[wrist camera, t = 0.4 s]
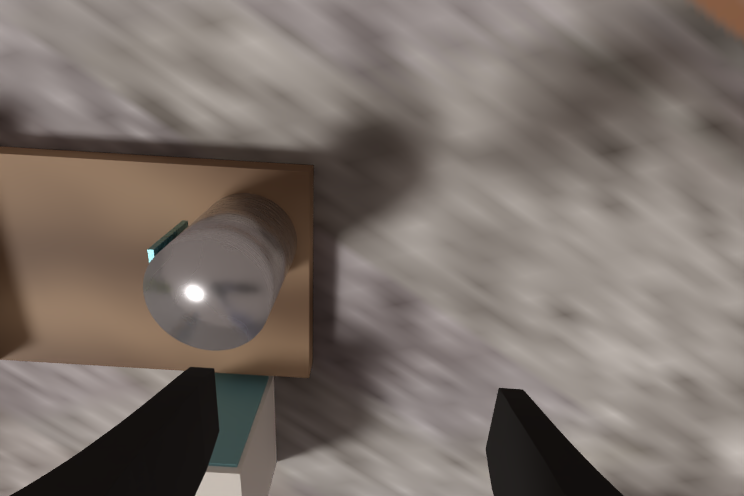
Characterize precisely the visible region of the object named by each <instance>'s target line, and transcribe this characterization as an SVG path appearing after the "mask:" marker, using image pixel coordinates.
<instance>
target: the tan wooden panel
mask: <svg viewBox="0 0 744 496" xmlns="http://www.w3.org/2000/svg"><path fill="white" fill-rule="evenodd" d="M313 175H314V165H301V164H285V163H268V162H251V161H234V160H218V159H201V158H184V157H168V156H151V155H134V154H117V153H101V152H84V151H67V150H50V149H34V148H17V147H0V360H16V361H32V362H49V363H66V364H83V365H99V366H116V367H133V368H149V369H166V370H183V371H186V370H187V369H188V368H189V367H202V368H214V370H215V372H216V373H233V374H250V375H266V376H283V377H300V378H309V376H310V372H311V367H312V363H313ZM236 193H251V194H256V195H260V196H263V197H265V198H267V199H269V200H271V201H273V202H274V203H276V204H277V205H278V206H280V207H281V208H282V209H283V210H284V211H285V212H286V214H287V215H288V216H289V218H290V219H291V221H292V223H293V225H294V228H295V231H296V235H297V249H296V254H295V257H294V259H293V261H292V264H291V266H290V268H289V271H288V273H287V275H286V277H285V280H284V282H283V284H282V286H281V289H280V291H279V293H278V296H277V298H276V300H275V302H274V305H273V307H272V309H271V312H270V314H269V316H268V318H267V321H266V323H265V325H264V326H263V328H262V330H261V331H260V332H259V333H258V334H257V335H256V336H255V337H254V338H253V339H252V340H250V341H249V342H247V343H246V344H244V345H242V346H239V347H236V348H233V349H229V350H221V351H211V350H203V349H198V348H195V347H192V346H189V345H186V344H184V343H182V342H180V341H178V340H177V339H175V338H173V337H172V336H171V335H169V334H168V333H167V332H165V331H164V330H163V329H162V328H161V327H160V326H159V325H158V323H157V322H156V321H155V320H154V318H153V317H152V315H151V313H150V312H149V310H148V308H147V305H146V302H145V299H144V294H143V279H144V275H145V272H146V269H147V267H148V265H149V258H148V251H147V249H148V248H150V247H151V246H152V245H153V244H154V243H156V242H157V241H158V240H159V239H160V238H162V237H163V236H164V235H165V234H167V233H168V232H169V231H170V230H171V229H173V228H174V227H175V226H176V225H177V224H179V223H180V222H181V221H182V220H185V221H188V226H189V225H190V224H192V223H193V222H194V221H195V220H196V219H197V218H198V217H200V216H201V215H202V214H203V213H204V212H205V211H206V210H207V209H209V208H210V207H211V206H212V205H213V204H214V203H216V202H217V201H218V200H220V199H221V198H223V197H226V196H228V195H232V194H236Z"/></svg>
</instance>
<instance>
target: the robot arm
mask: <svg viewBox="0 0 744 496" xmlns="http://www.w3.org/2000/svg"><path fill="white" fill-rule="evenodd" d="M219 431H220V430H219V418H218V406H217V394H216V382H215V370H214V368H202V367H189V368H188V369H187V370H186V371H184V372H183V373H182V374H181V375H179V376H178V377H177V378H176V379H174V380H173V381H172V382H171V383H169V384H168V385H167V386H166V387H165V388H163V389H162V390H161V391H160V392H158V393H157V394H156V395H155V396H153V397H152V398H151V399H150V400H149V401H147V402H146V403H145V404H144V405H142V406H141V407H140V408H139V409H137V410H136V411H135V412H133V413H132V414H131V415H130V416H128V417H127V418H126V419H125V420H123V421H122V422H121V423H119V424H118V425H117V426H115V427H114V428H113V429H111V430H110V431H108V432H107V433H106V434H104V435H103V436H102V437H100V438H99V439H97V440H96V441H95V442H93V443H92V444H91V445H89V446H88V447H86V448H85V449H84V450H82V451H81V452H79V453H78V454H76V455H75V456H73V457H72V458H70V459H69V460H67V461H66V462H64V463H63V464H61V465H60V466H58V467H57V468H55V469H53V470H52V471H50V472H49V473H47V474H45V475H44V476H42V477H41V478H39V479H37V480H36V481H34V482H33V483H31V484H29V485H28V486H26V487H24V488H23V489H21V490H19V491H17V492H15V493H14V494H12V495H10V496H195V495H196V492H197V490H198V488H199V486H200V484H201V482H202V479H203V477H204V475H205V473H206V470H207V468H208V465H209V462H210V459H211V456H212V453H213V450H214V447H215V443H216V440H217V437H218V434H219ZM486 454H487V461H488V467H489V474H490V479H491V485H492V490H493V494H494V496H623V495H622V494H621V493H620V492H619V491H618V490H617V489H616V488H615V487H614V486H613V485H612V484H611V483H610V482H609V481H608V480H607V479H605V478H604V477H603V476H602V475H601V474H600V473H599V472H598V471H597V470H596V469H595V468H594V467H593V466H592V465H591V464H590V463H589V462H588V461H587V460H586V459H585V458H584V457H583V455H582V454H581V453H580V452H579V451H578V450H577V449H576V448H575V447H574V446H573V445H572V444H571V443H570V442H569V441H568V440H567V438H566V437H565V436H564V435H563V434H562V433H561V432H560V431H559V430H558V429H557V427H556V426H555V425H554V424H553V423H552V422H551V421H550V420H549V418H548V417H547V416H546V415H545V414H544V413H543V412H542V410H541V409H540V408H539V407H538V406H537V405H536V404H535V403H534V401H533V400H532V399H531V398H530V397H529V396H528V395H527V394H526V392H525V391H524V390H521V389H507V388H499V390H498V394H497V399H496V403H495V408H494V413H493V417H492V422H491V427H490V431H489V436H488V441H487V445H486Z"/></svg>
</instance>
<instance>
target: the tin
mask: <svg viewBox="0 0 744 496" xmlns="http://www.w3.org/2000/svg"><path fill="white" fill-rule="evenodd" d="M296 249H297V235H296V231H295V228H294V225H293V223H292V221H291V219H290V218H289V216H288V215H287V214H286V212H285V211H284V210H283V209H282V208H281V207H280V206H278V205H277V204H276V203H274V202H273V201H271V200H269V199H267V198H265V197H263V196H260V195H256V194H251V193H236V194H232V195H228V196H226V197H223V198H221V199H220V200H218V201H217V202H216V203H214V204H213V205H212V206H211V207H210V208H209V209H207V210H206V211H205V212H204V213H203V214H202V215H201V216H200V217H198V218H197V219H196V220H195V221H194V222H193V223H192V224H190V225H189V226H188V221H185V220H182V221H181V222H180V223H179V224H177V225H176V226H175V227H174V228H173V229H171V230H170V231H169V232H168V233H167V234H165V235H164V236H163V237H162V238H160V239H159V240H158V241H157V242H156V243H154V244H153V245H152V246H151V247H150V248H148V249H147V251H148V258H149V265H148V267H147V269H146V272H145V275H144V279H143V294H144V299H145V302H146V305H147V308H148V310H149V312H150V313H151V315H152V317H153V318H154V320H155V321H156V322H157V323H158V325H159V326H160V327H161V328H162V329H163V330H164V331H165V332H167V333H168V334H169V335H171V336H172V337H173V338H175V339H177V340H178V341H180V342H182V343H184V344H186V345H189V346H192V347H195V348H198V349H203V350H211V351H221V350H229V349H233V348H236V347H239V346H242V345H244V344H246V343H247V342H249V341H250V340H252V339H253V338H254V337H255V336H256V335H257V334H258V333H259V332H260V331H261V330H262V328H263V326H264V325H265V323H266V321H267V318H268V316H269V314H270V312H271V309H272V307H273V305H274V302H275V300H276V298H277V296H278V293H279V291H280V289H281V286H282V284H283V282H284V280H285V277H286V275H287V273H288V271H289V268H290V266H291V264H292V261H293V259H294V257H295V254H296Z"/></svg>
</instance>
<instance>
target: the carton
mask: <svg viewBox="0 0 744 496" xmlns="http://www.w3.org/2000/svg"><path fill="white" fill-rule="evenodd" d="M215 382H216V394H217V406H218V418H219V430H220V431H219V434H218V437H217V440H216V443H215V447H214V450H213V453H212V456H211V459H210V462H209V465H208V468H207V470H206V473H205V475H204V477H203V479H202V482H201V484H200V486H199V488H198V490H197V492H196V495H195V496H268V494H269V490H270V486H271V482H272V478H273V474H274V471H275V467H276V463H277V452H276V425H275V398H274V376H266V375H250V374H233V373H216V372H215Z"/></svg>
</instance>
